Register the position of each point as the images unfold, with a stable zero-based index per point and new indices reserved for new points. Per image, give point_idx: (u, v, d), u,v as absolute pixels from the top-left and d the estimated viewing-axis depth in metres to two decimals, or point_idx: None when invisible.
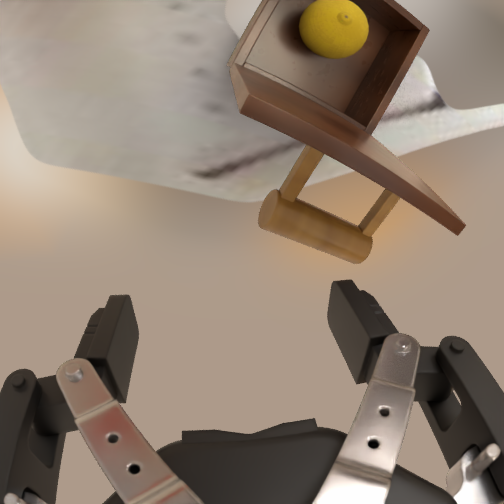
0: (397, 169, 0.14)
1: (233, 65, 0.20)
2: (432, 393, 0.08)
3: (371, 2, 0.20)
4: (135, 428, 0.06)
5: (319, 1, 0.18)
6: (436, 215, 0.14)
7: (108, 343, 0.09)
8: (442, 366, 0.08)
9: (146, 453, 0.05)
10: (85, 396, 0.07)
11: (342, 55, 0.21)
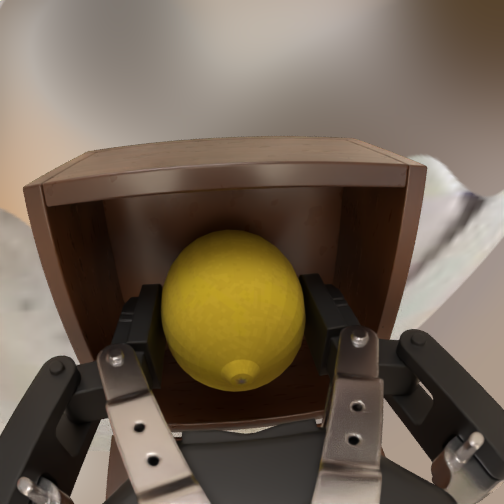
0: None
1: (110, 457, 0.12)
2: (394, 387, 0.09)
3: None
4: (164, 421, 0.06)
5: (170, 326, 0.10)
6: None
7: (147, 328, 0.10)
8: (402, 359, 0.09)
9: (169, 447, 0.05)
10: (122, 381, 0.07)
11: None
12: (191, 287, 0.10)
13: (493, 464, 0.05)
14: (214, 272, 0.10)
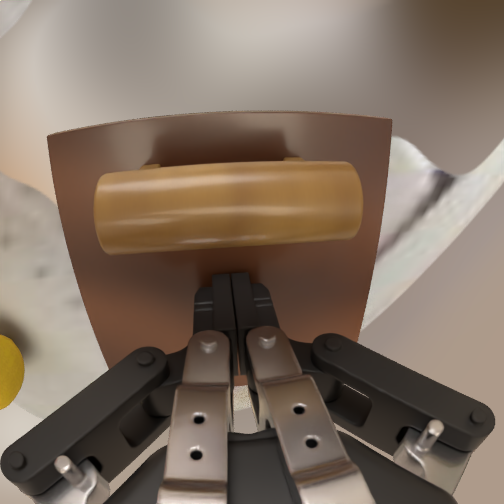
0: None
1: None
2: None
3: None
4: (225, 421, 0.06)
5: None
6: (331, 113, 0.11)
7: (232, 315, 0.10)
8: (312, 364, 0.09)
9: (217, 448, 0.05)
10: (204, 369, 0.08)
11: None
12: None
13: (460, 441, 0.06)
14: None
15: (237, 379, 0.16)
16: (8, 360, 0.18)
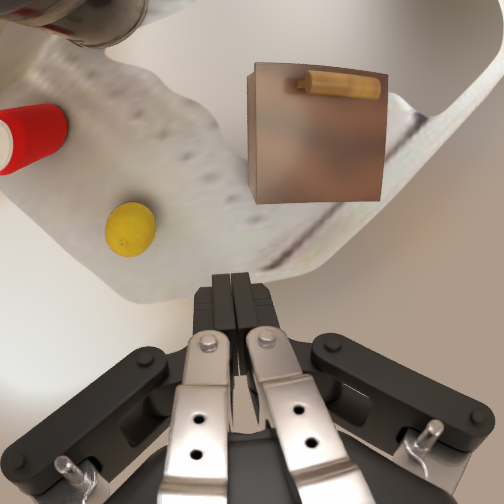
0: None
1: (255, 189, 0.31)
2: None
3: None
4: (225, 421, 0.06)
5: (106, 231, 0.31)
6: (365, 71, 0.26)
7: (232, 315, 0.10)
8: (312, 364, 0.09)
9: (217, 448, 0.05)
10: (204, 369, 0.08)
11: None
12: (112, 218, 0.31)
13: (460, 441, 0.06)
14: (118, 213, 0.31)
15: (324, 196, 0.31)
16: (151, 215, 0.33)
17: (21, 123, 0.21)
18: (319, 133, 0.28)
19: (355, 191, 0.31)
